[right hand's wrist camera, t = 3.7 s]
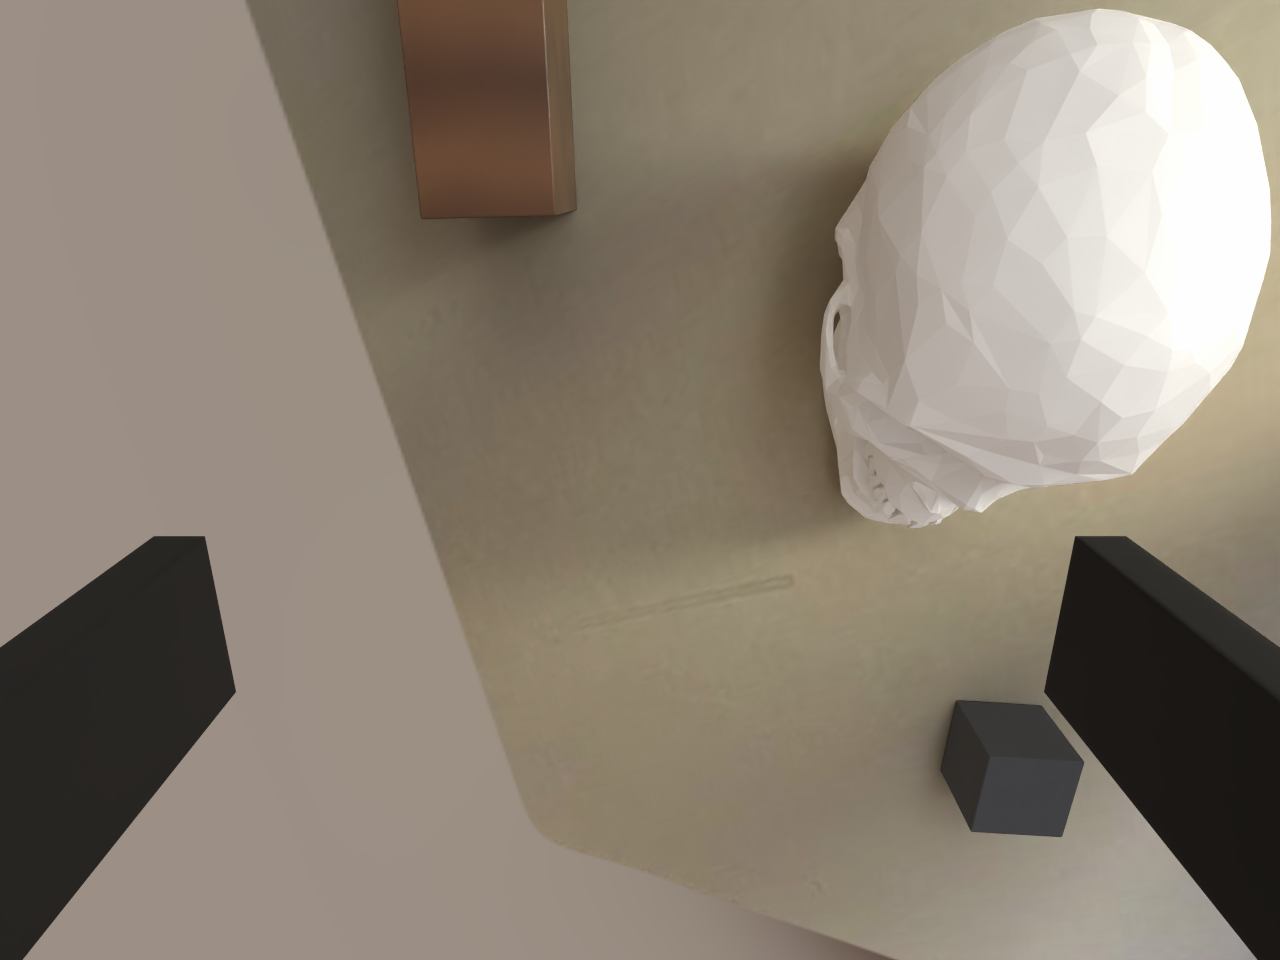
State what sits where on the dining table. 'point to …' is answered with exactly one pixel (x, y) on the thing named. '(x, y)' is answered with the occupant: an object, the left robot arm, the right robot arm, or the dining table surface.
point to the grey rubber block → (1010, 769)
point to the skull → (1043, 266)
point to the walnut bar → (489, 106)
